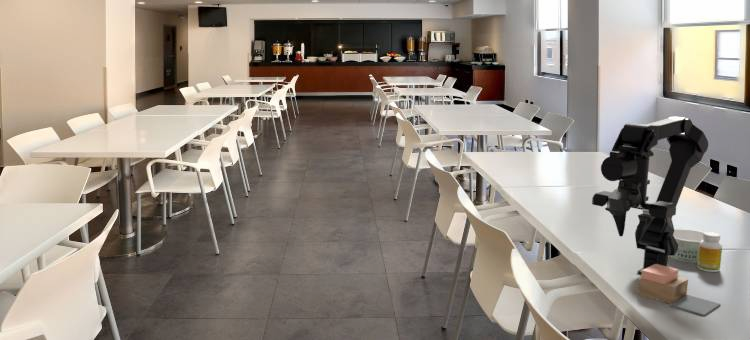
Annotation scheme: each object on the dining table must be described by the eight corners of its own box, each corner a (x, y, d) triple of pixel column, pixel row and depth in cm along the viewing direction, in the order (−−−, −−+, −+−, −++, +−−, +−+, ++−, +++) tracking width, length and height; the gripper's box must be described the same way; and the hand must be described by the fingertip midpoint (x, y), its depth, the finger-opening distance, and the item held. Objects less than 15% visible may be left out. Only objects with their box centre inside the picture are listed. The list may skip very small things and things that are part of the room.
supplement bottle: (720, 273, 169) (724, 237, 168) (698, 271, 171) (701, 235, 170) (718, 267, 174) (722, 232, 172) (696, 264, 176) (699, 230, 174)
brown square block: (653, 286, 161) (654, 270, 160) (686, 295, 155) (688, 279, 154) (638, 294, 155) (639, 278, 155) (671, 304, 150) (673, 287, 149)
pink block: (654, 271, 159) (655, 263, 159) (677, 277, 155) (678, 269, 155) (641, 278, 155) (642, 270, 154) (664, 284, 151) (665, 276, 150)
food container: (666, 261, 179) (668, 238, 178) (662, 248, 190) (664, 227, 189) (714, 266, 175) (717, 243, 174) (707, 253, 186) (709, 231, 185)
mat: (686, 296, 154) (687, 294, 154) (720, 305, 149) (720, 303, 149) (669, 306, 148) (670, 304, 148) (704, 316, 143) (704, 314, 143)
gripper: (582, 174, 158) (578, 236, 161) (657, 187, 144) (652, 254, 147) (605, 168, 165) (601, 228, 168) (679, 180, 152) (673, 244, 155)
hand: (630, 238), depth 159 cm, fingers open, 4 cm apart
